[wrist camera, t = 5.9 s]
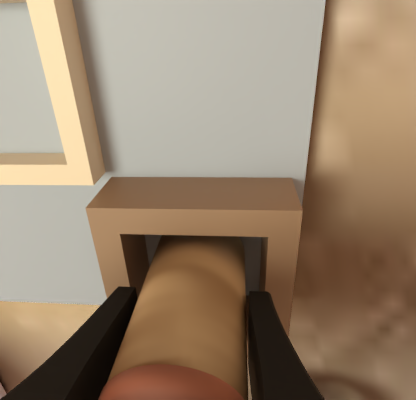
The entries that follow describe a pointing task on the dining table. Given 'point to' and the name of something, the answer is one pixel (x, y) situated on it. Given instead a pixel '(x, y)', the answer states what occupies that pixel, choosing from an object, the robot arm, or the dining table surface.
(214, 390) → the pin
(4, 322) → the dining table surface
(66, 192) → the mount
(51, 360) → the robot arm
